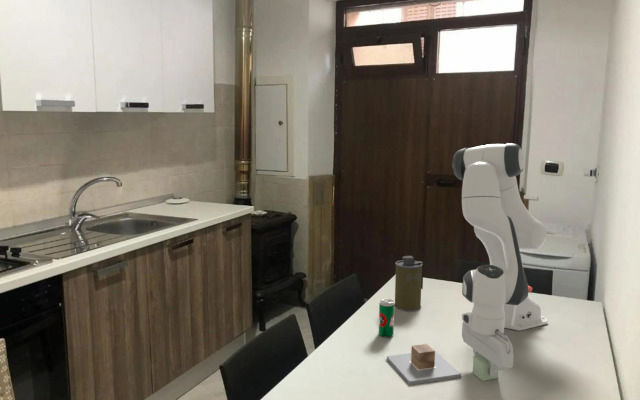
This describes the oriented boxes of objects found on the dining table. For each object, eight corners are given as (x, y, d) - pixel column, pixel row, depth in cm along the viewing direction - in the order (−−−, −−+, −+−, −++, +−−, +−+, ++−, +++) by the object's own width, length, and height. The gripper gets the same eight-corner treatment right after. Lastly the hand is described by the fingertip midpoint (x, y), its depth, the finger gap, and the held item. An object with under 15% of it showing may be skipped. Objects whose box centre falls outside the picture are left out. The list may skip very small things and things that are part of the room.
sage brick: (487, 370, 151) (488, 353, 150) (497, 378, 146) (498, 361, 146) (472, 372, 150) (473, 356, 149) (482, 380, 145) (483, 363, 144)
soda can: (393, 338, 173) (393, 304, 171) (377, 337, 174) (378, 302, 172) (394, 332, 178) (394, 298, 176) (379, 331, 179) (379, 297, 177)
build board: (434, 353, 162) (434, 349, 162) (461, 377, 147) (461, 373, 147) (386, 359, 158) (386, 355, 158) (409, 384, 143) (409, 381, 143)
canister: (400, 312, 197) (401, 261, 194) (390, 302, 207) (391, 254, 204) (426, 309, 199) (428, 259, 196) (415, 300, 209) (417, 252, 206)
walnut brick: (426, 359, 155) (426, 343, 155) (434, 367, 151) (435, 351, 150) (411, 361, 154) (411, 345, 153) (418, 369, 149) (419, 353, 149)
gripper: (521, 337, 137) (517, 386, 139) (477, 310, 156) (475, 353, 158) (500, 340, 135) (497, 389, 137) (458, 312, 154) (457, 355, 157)
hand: (485, 369), depth 148 cm, fingers closed on sage brick, 5 cm apart
